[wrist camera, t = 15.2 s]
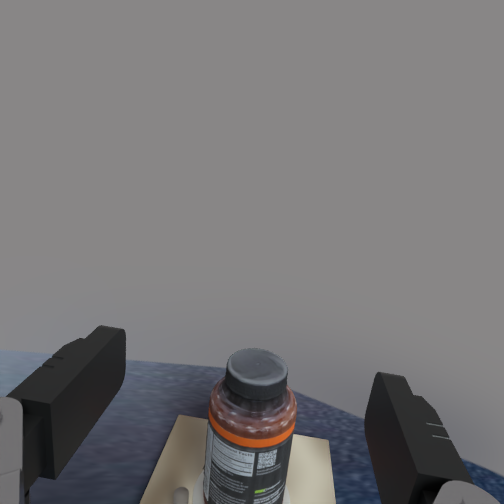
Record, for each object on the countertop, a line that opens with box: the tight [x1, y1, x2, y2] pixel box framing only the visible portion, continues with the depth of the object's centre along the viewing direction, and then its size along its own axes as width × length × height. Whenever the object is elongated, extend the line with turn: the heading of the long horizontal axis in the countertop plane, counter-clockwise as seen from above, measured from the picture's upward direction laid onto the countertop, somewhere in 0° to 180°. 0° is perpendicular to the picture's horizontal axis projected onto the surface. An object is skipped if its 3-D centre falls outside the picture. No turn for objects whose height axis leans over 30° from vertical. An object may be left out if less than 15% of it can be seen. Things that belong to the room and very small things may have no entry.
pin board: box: [140, 415, 336, 504], centre depth 27 cm, size 14×14×3 cm
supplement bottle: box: [203, 348, 297, 504], centre depth 25 cm, size 6×6×11 cm
